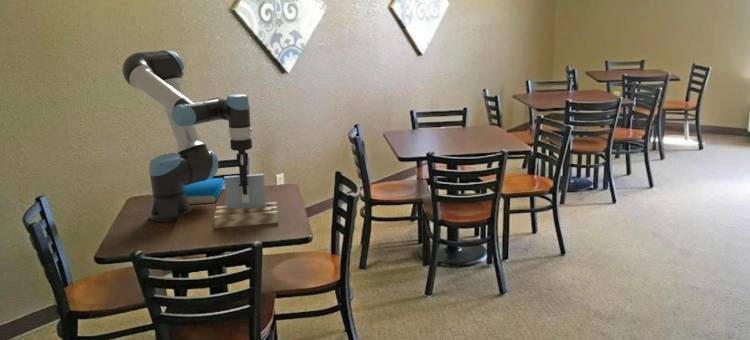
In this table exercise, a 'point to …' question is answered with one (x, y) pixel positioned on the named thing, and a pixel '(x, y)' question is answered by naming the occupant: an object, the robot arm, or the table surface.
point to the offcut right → (260, 210)
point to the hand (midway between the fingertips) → (246, 200)
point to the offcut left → (230, 211)
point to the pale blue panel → (254, 192)
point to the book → (204, 191)
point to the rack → (246, 217)
